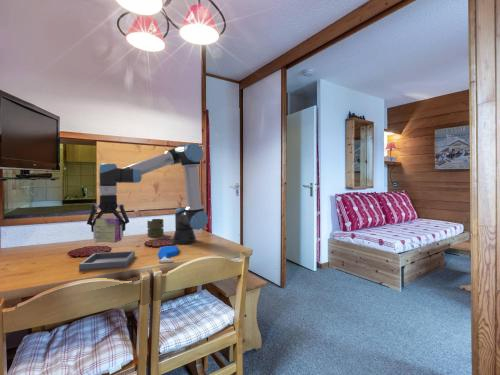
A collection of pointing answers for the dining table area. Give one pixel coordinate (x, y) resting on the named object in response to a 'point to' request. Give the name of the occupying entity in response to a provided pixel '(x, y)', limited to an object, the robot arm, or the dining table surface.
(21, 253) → the dining table surface
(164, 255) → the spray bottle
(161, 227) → the dark green block
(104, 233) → the box
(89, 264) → the tray
